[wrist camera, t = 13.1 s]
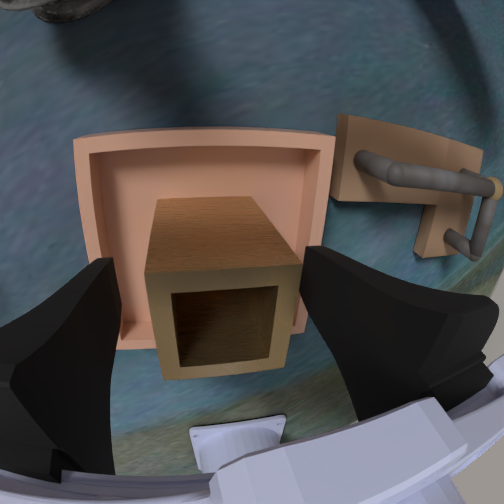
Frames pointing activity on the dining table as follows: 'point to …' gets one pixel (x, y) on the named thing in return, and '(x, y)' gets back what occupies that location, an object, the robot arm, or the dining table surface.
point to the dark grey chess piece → (56, 8)
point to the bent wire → (416, 181)
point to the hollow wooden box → (219, 287)
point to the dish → (194, 195)
